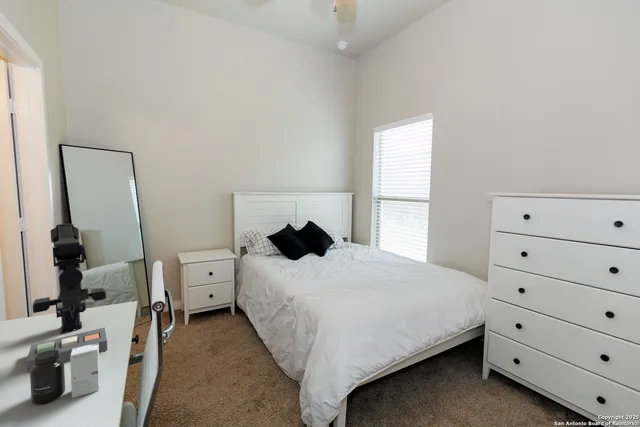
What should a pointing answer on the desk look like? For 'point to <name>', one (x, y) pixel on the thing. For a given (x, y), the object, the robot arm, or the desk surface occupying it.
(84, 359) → the skincare box
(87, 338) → the terracotta key
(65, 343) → the cream key
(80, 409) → the desk surface
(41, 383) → the supplement bottle
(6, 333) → the desk surface
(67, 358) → the keyguard
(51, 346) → the sage key
